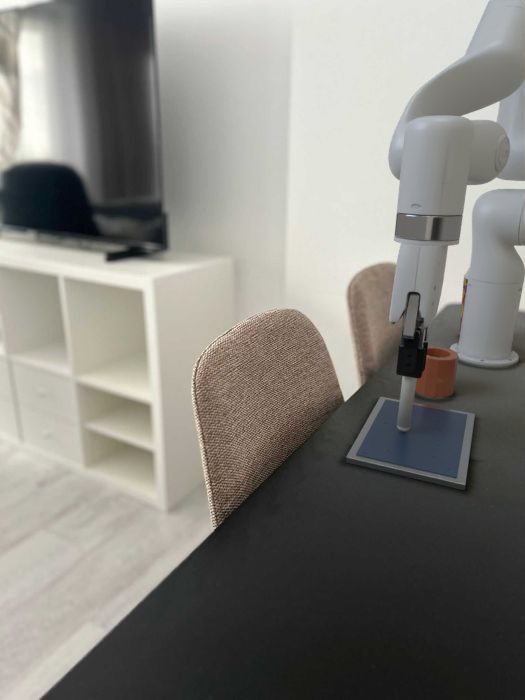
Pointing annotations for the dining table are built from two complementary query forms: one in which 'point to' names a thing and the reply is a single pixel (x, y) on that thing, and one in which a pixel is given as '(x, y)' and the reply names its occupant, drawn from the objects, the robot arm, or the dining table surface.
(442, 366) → the holder
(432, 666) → the dining table surface
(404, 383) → the stylus
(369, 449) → the tablet
